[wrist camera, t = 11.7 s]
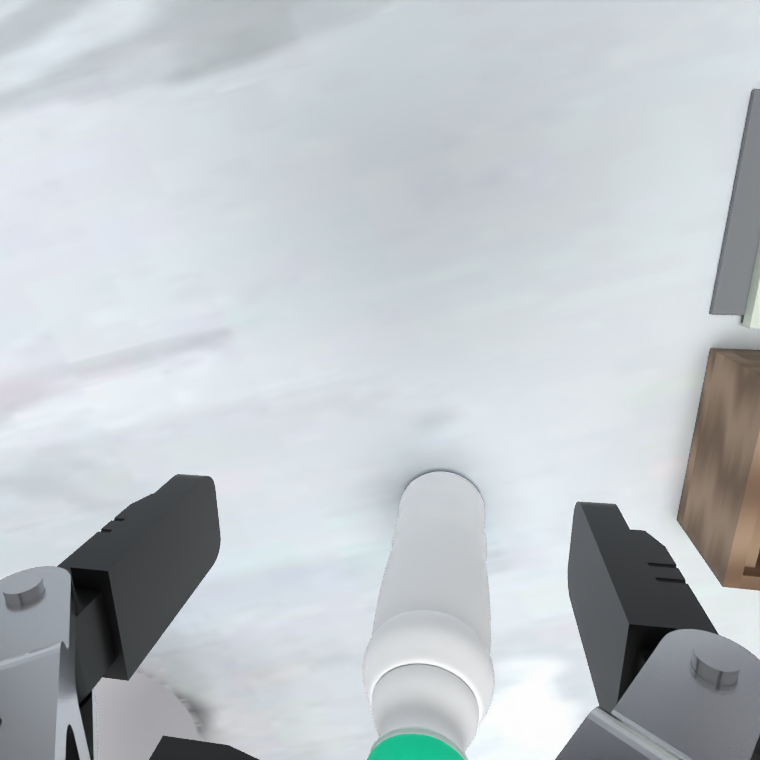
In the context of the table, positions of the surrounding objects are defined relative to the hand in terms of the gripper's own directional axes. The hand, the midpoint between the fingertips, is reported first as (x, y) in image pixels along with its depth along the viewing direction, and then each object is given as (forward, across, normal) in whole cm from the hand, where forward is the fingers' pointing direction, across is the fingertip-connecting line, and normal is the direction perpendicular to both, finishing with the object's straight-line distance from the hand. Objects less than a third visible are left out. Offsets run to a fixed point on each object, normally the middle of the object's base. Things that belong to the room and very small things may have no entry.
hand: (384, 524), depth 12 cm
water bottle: (+30, 0, +17) cm, 35 cm away
